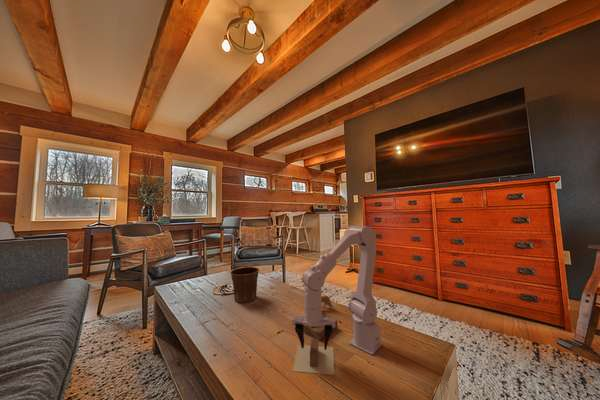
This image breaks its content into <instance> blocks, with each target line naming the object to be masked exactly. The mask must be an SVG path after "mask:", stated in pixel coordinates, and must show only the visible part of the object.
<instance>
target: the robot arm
mask: <svg viewBox="0 0 600 400" xmlns="http://www.w3.org/2000/svg"><path fill="white" fill-rule="evenodd" d="M376 238H377V232H376V231H375V230H374V228H373V227H371V226H369V225H356V224H350V225H349V226H348V227H347V229H345V230H344V232H343V235H342V237H340V239H339V240H338V241H337V243H336V244H335V245H334V246H333V248H332V249H331V250H330V252H329V253H328V252H327V253H324V254H321V255H320V256H319V259H318V260H317V261H316V262H315V263H314V264H313V265H312V266H310V268H308V269H306V270H305V271H304V272H303V274H302V276H301V282H302V283H303V285H304V315H303V316H301V315H300V316H293V317H292V319H291V325H292V326H295V327H294V330H295V333H296V334H297V338H299V339H298V340H299V343H300V345H301V348H304V345H305V335H304V334H305V333H304V325H308V326H325V338H324V343H323V344H324V345H323V347H324V350H327V347H328V342H329V339H330V336H331V335H332V333H333V332H332V327H333V328H335V320H336V319H335V318H330V317H328V318H326V317H327V316H326V317H322V315H323V311H322V310H323V309H322V306H323V305H322V304H323V303H322V302H321V296H322V288H323V287H324V285H325V283H326V282H325V280H326V278H327V276H328V275H329V274H330V273H331V272H332V271H333V270H334V269H335V267H336V266H337V260H338V259H339V258H340V257H341V256H342V255H343V254H344V253H345V252H346V251H347V250H348V249H349V248H350V247H351V246H356V245H357V247H358V248H359V249H360V252H361V253H360V260H359V267H358V275H357V284H356V291H354V292H353V293H351V297H350V300H349V302H348V310H349V312H350V313H351V316H352V327H353V329H352V330H353V331H352V333H353V335H352V339H351V340H350V341H348V344H349V345H351V346H353V347H355V348H357V349H360V350H361V351H364V352H365V353H367V354H370V355H374V354H375V353H376V352H377V351H378V349H379V348H381V347H382V345H383V343H382V334H381V333H382V332H381V325H380V324H378V323H377V322H375V321H376V320H377V316H378V310H377V301H376V300H375V298H374V296H373V294H372V292H373V291H372V290H373V283H374V274H375V266H376V255H377V254H376V253H377V243H376Z"/></svg>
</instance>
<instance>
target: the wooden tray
mask: <svg viewBox="0 0 600 400" xmlns="http://www.w3.org/2000/svg"><path fill="white" fill-rule="evenodd" d="M322 317H326V318H329V316H326V315H324V314H322ZM338 327H339V326H338V320H336V319H335V328H333V327H332V333H334V332H335V331H336V330H337V329H338ZM304 334H306V335H307V336H309V337H311V338H312V339H318V342H321V341H322V340H323V339H325V326H308V325H304Z"/></svg>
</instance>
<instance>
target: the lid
mask: <svg viewBox="0 0 600 400" xmlns="http://www.w3.org/2000/svg"><path fill="white" fill-rule="evenodd" d="M334 355H335V354H334V346H327V350H324V346H320V345H319V341H318V339H315V338H311V342H310V345H305V344H304V348H301V344H298V345H297V349H296V353H295V357H294V358H295V359H294V362H293V368H292V372H293V373H302V374H303V373H306V374H319V375H328V376H330V375H331V376H336V375H335V357H334Z"/></svg>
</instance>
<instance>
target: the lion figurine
mask: <svg viewBox="0 0 600 400" xmlns="http://www.w3.org/2000/svg"><path fill="white" fill-rule="evenodd" d="M321 302H322V304H323V305H322V308H323V309H324V308H326V306H328V307H329V308H328V310H330V311H331V310H332V307H333V305H332V302H331V298H330V297H329V296H328V295H325V294H324V295H321Z"/></svg>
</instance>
